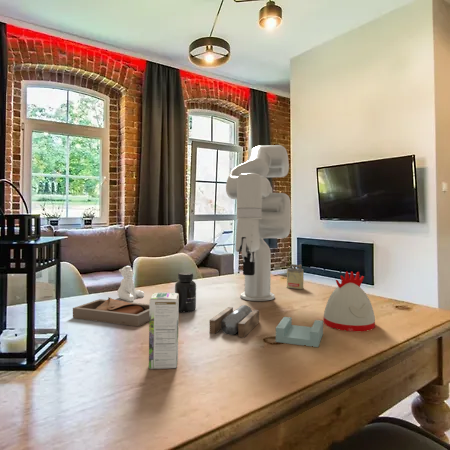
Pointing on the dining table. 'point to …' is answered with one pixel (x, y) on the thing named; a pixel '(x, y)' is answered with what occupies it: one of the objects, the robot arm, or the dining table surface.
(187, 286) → the supplement bottle
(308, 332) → the cradle
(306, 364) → the dining table surface
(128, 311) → the sunglasses case
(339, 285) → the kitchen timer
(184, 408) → the dining table surface
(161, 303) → the syrup box
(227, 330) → the grey cylinder
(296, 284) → the jerry can
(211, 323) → the wooden blocks
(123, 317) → the valet tray rim
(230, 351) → the dining table surface
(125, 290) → the white creature statuette
